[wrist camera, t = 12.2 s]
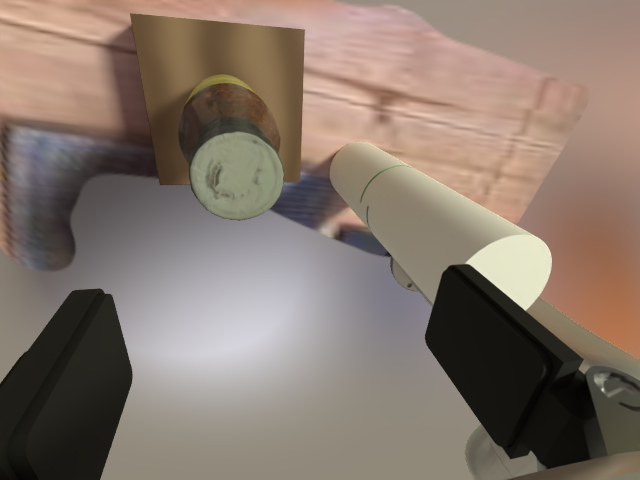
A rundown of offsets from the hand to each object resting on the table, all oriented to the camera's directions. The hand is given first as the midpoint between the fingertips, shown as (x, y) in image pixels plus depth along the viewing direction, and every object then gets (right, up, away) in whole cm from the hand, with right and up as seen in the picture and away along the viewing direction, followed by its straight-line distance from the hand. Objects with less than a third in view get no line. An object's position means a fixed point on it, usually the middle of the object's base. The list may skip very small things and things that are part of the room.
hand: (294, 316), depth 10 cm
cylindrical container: (+5, +11, +32) cm, 34 cm away
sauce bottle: (-8, +14, +21) cm, 27 cm away
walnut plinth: (-9, +16, +25) cm, 31 cm away
